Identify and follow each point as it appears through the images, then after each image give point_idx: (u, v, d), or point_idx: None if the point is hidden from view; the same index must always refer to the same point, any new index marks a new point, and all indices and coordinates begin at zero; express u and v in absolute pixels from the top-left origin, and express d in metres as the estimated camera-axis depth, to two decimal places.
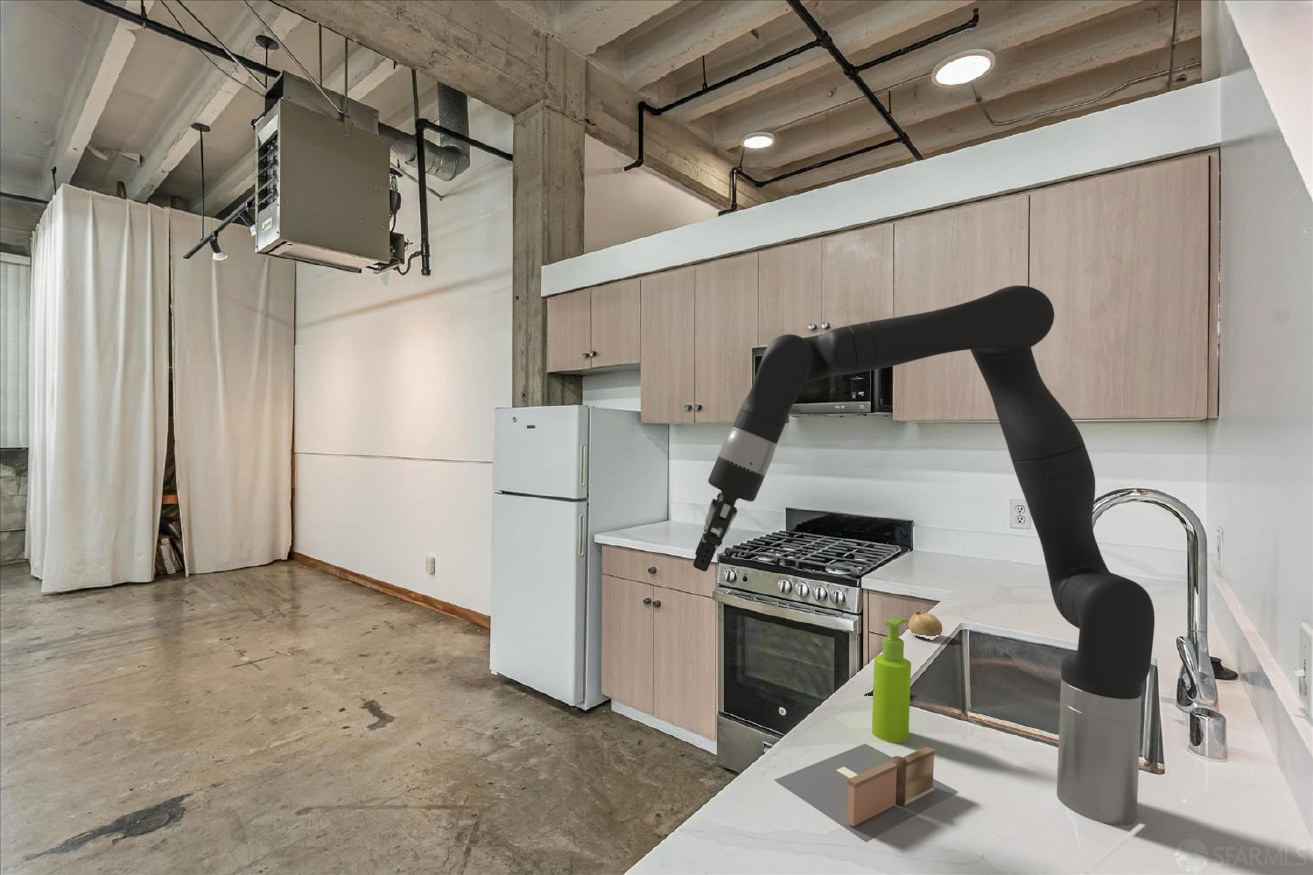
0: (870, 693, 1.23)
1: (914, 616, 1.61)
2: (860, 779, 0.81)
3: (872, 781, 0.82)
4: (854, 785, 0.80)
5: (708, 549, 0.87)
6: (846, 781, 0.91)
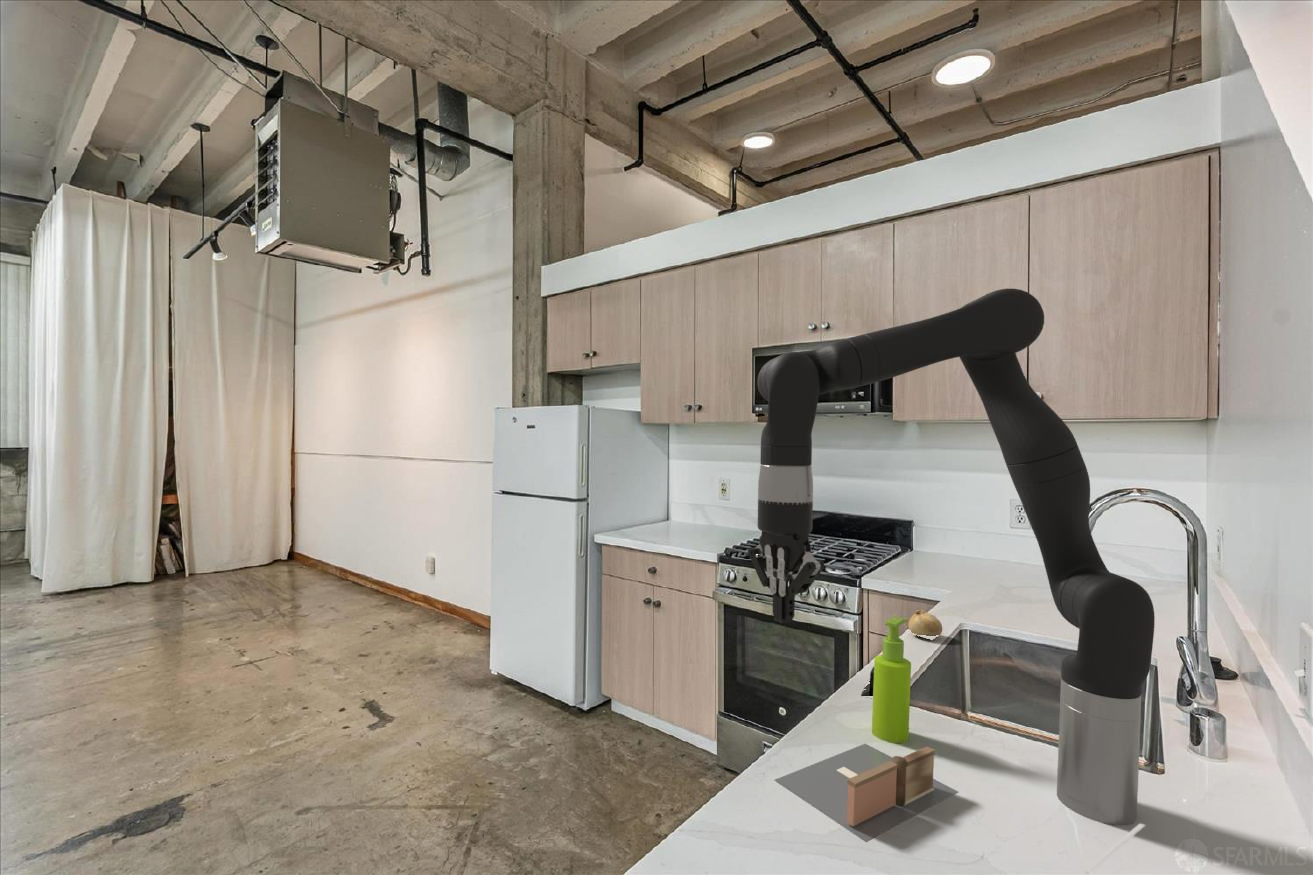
0: (866, 693, 1.23)
1: (914, 616, 1.61)
2: (860, 779, 0.81)
3: (872, 781, 0.82)
4: (854, 785, 0.80)
5: (791, 600, 0.85)
6: (846, 781, 0.91)
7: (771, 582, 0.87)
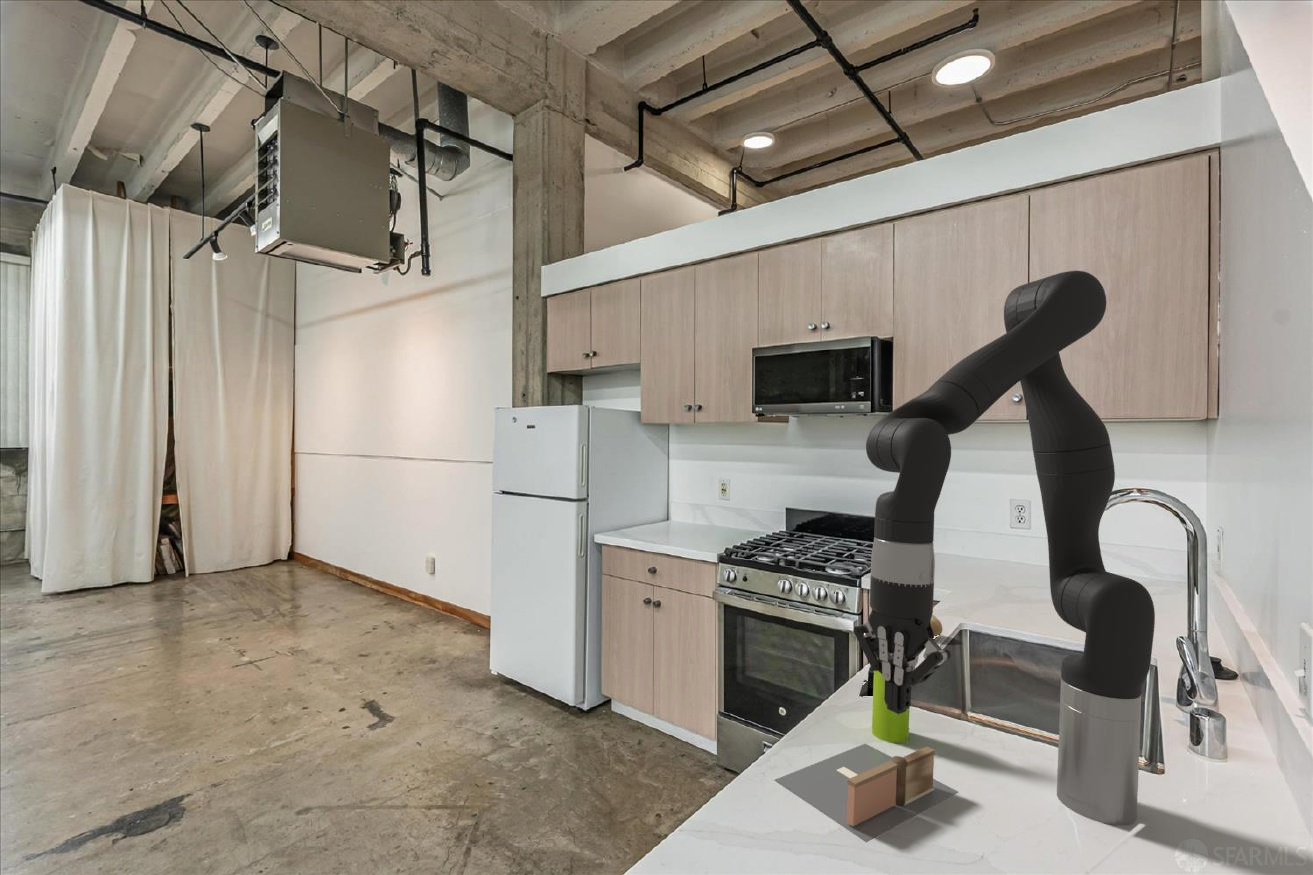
0: (865, 693, 1.23)
1: None
2: (860, 779, 0.81)
3: (872, 781, 0.82)
4: (854, 785, 0.80)
5: (907, 688, 0.78)
6: (846, 781, 0.91)
7: (884, 667, 0.79)
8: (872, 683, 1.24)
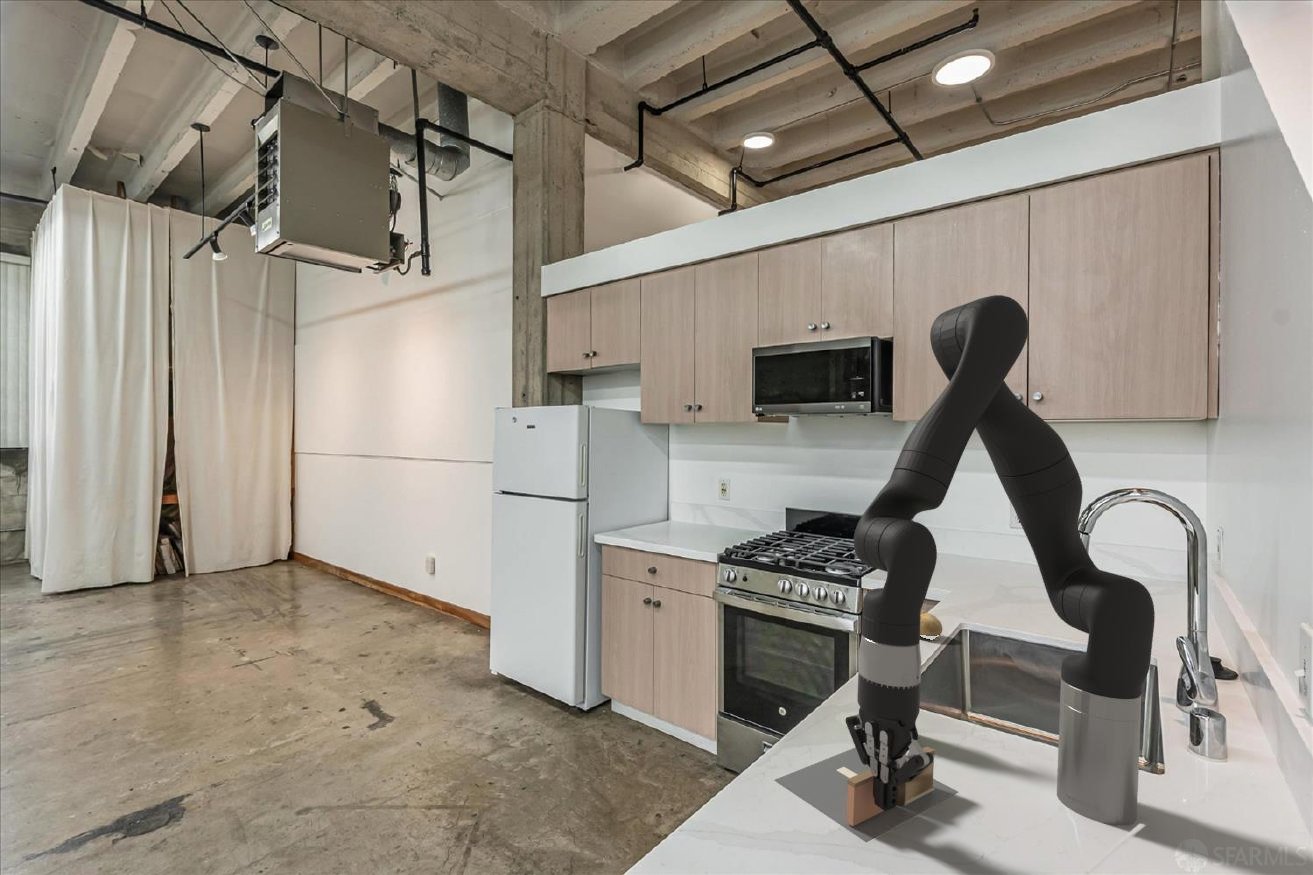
0: None
1: None
2: (860, 779, 0.81)
3: (872, 781, 0.82)
4: (854, 784, 0.80)
5: (894, 786, 0.79)
6: (846, 781, 0.91)
7: (872, 762, 0.80)
8: None
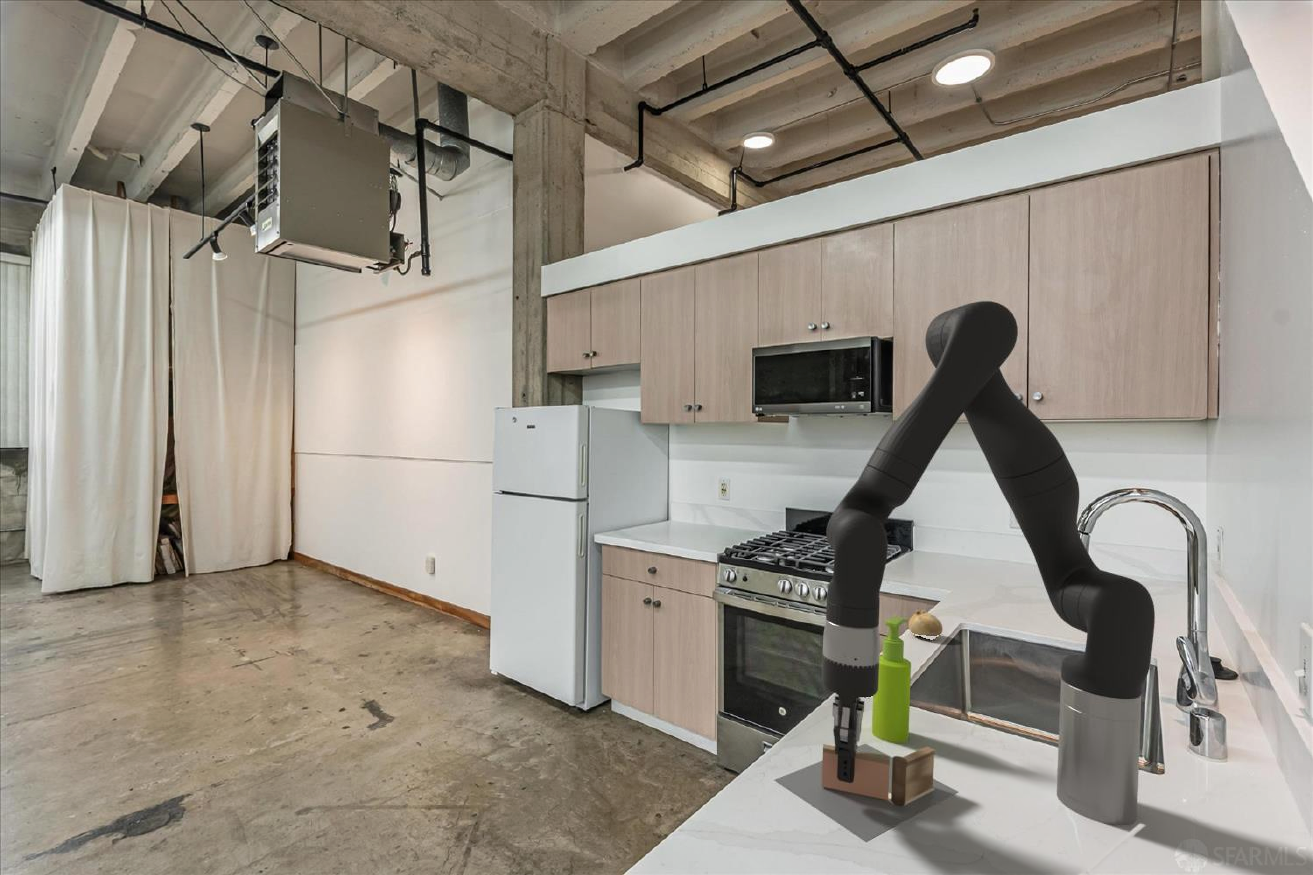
0: None
1: (914, 616, 1.61)
2: (833, 748, 0.89)
3: None
4: None
5: (846, 760, 0.84)
6: None
7: None
8: None
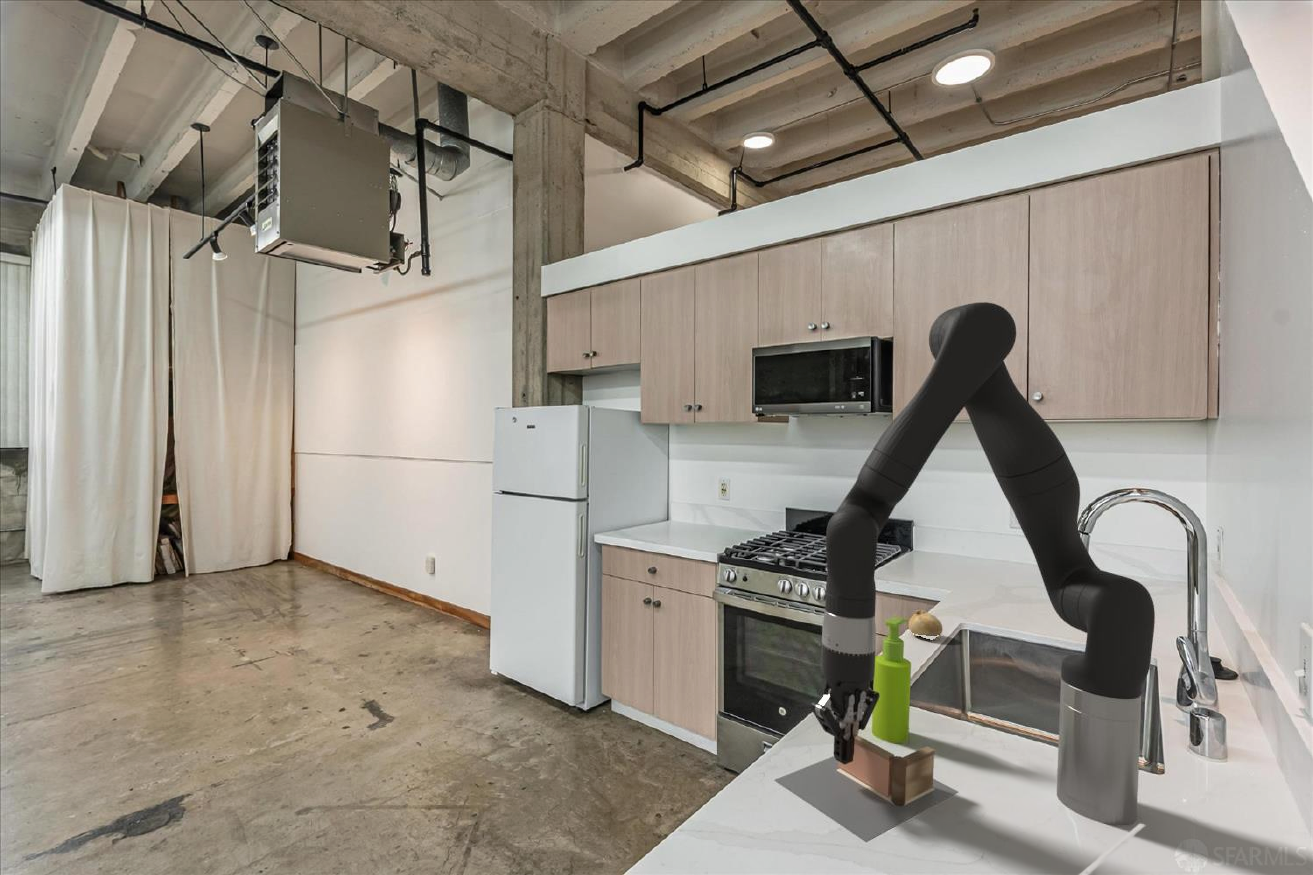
0: None
1: (914, 616, 1.61)
2: None
3: (858, 745, 0.91)
4: None
5: (838, 741, 0.90)
6: (846, 781, 0.91)
7: None
8: None
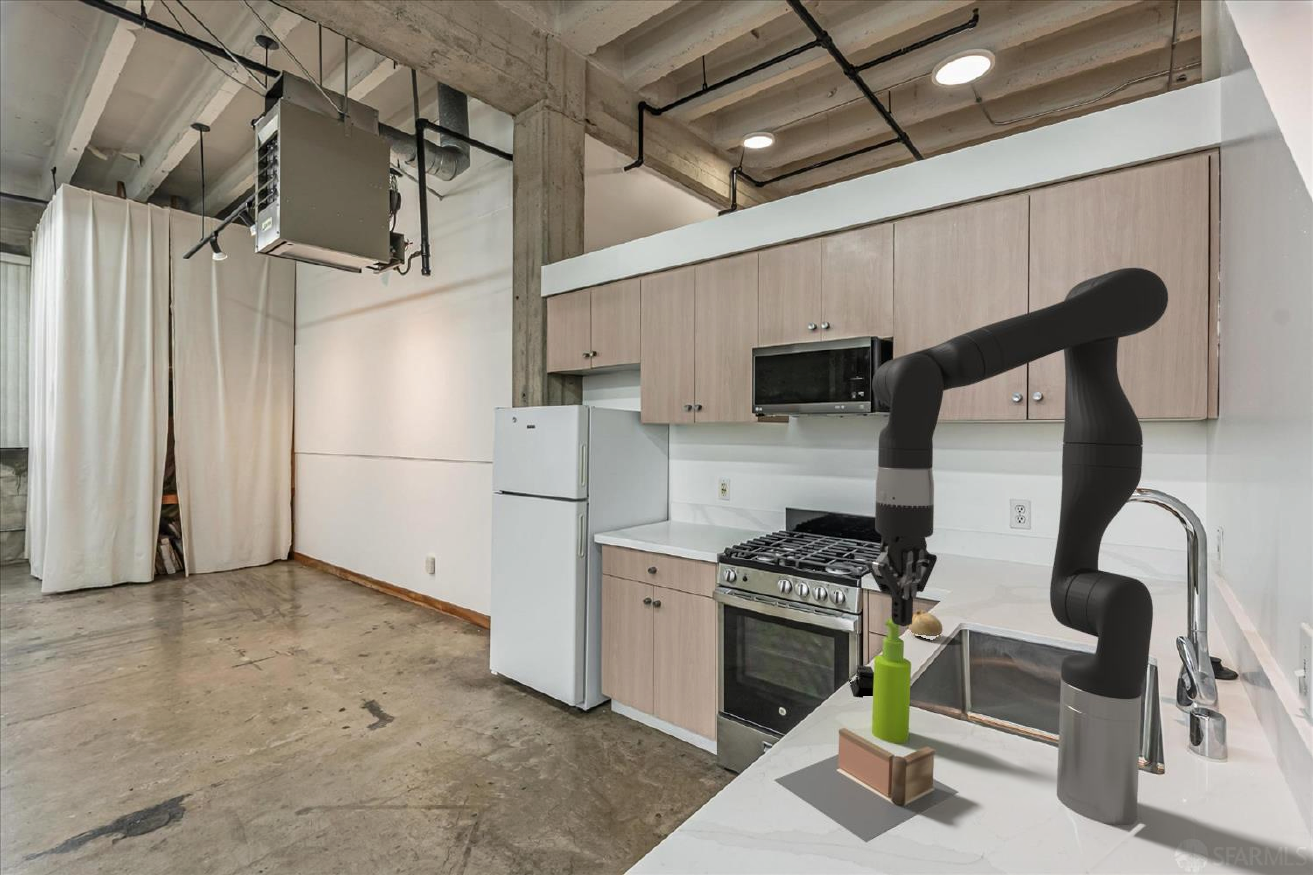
0: (857, 692, 1.23)
1: (914, 616, 1.61)
2: (847, 733, 0.93)
3: (858, 745, 0.91)
4: (839, 730, 0.94)
5: (896, 602, 0.85)
6: (846, 781, 0.91)
7: None
8: (863, 682, 1.24)
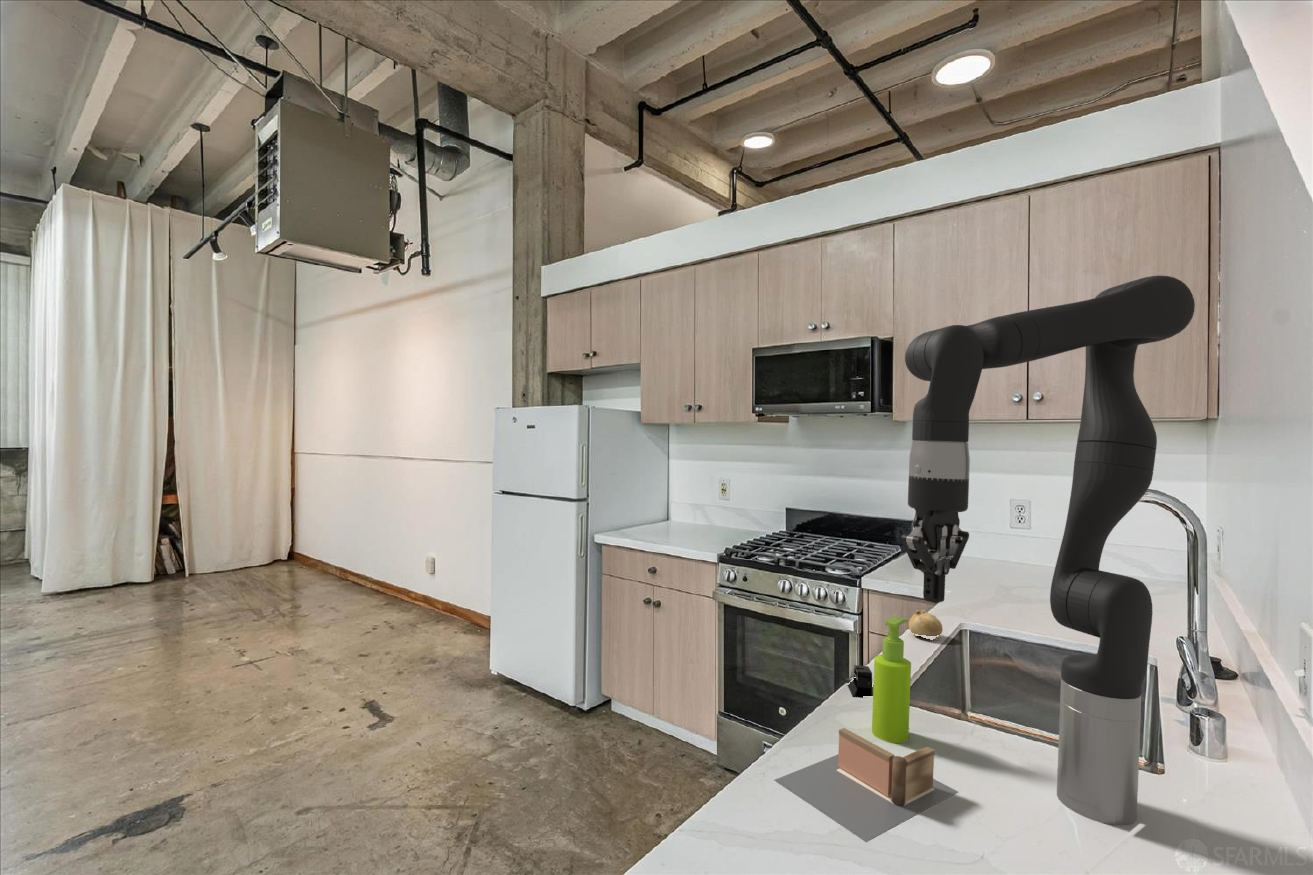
0: (856, 692, 1.23)
1: (914, 616, 1.61)
2: (847, 733, 0.93)
3: (858, 745, 0.91)
4: (839, 730, 0.94)
5: (929, 578, 0.84)
6: (846, 781, 0.91)
7: (932, 560, 0.86)
8: (862, 682, 1.24)
